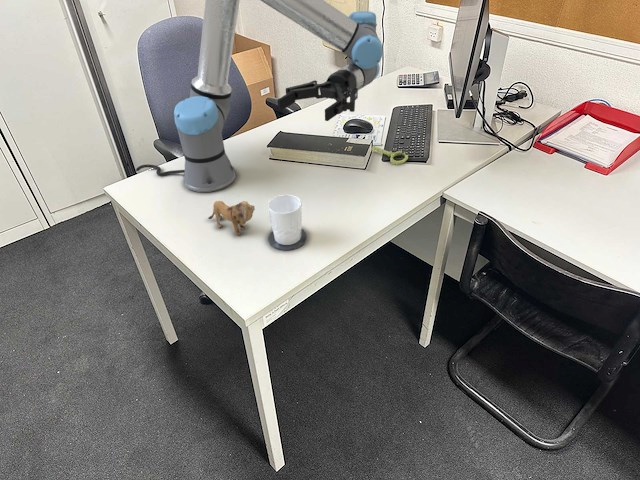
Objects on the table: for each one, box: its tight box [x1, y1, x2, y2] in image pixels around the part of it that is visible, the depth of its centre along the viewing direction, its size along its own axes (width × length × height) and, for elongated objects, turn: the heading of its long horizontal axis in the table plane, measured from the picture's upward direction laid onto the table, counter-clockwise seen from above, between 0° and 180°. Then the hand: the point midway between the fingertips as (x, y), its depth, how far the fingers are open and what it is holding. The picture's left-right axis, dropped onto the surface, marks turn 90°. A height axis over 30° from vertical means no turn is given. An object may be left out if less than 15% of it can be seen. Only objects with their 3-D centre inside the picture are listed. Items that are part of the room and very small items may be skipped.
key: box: [370, 145, 409, 165], centre depth 136 cm, size 7×12×2 cm, turn 72°
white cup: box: [267, 194, 303, 245], centre depth 103 cm, size 8×8×10 cm
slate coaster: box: [267, 227, 308, 252], centre depth 106 cm, size 10×10×1 cm
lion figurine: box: [208, 200, 256, 236], centre depth 108 cm, size 15×5×9 cm, turn 65°
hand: (301, 110), depth 103 cm, fingers open, 13 cm apart
